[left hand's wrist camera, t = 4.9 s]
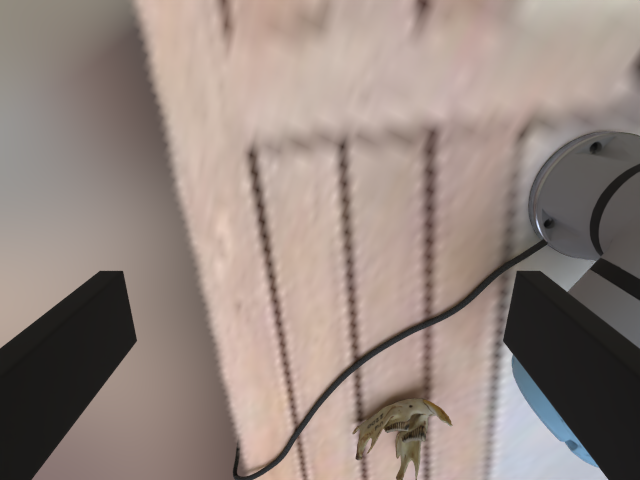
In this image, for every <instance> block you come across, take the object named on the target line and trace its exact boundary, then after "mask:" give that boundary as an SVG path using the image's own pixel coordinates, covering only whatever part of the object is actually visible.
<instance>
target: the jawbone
mask: <svg viewBox="0 0 640 480" xmlns="http://www.w3.org/2000/svg"><path fill="white" fill-rule="evenodd" d="M435 415H436V416H438V417H439V418H440V420H441V421H443V422H445V423H447V424H448V425H449V426H453V425H452V424H451V420H450V419H449V416H447V414H446V413H445V412H444V411H443V410H442V409H441V408H440V407H438V406H436V405H435V404H433V403H431V402H429V401H427V400H425V399H418V398H415V399H406V400H402V401H399V402H396V403H394V404H392V405H389V406H386V407H384V408H383V409H382V410H380V411H379V412H378V413H377V414H376V415H374V416H373V417H371V418H369V419H368V420H366V421H365V422H364V423H362V424H361V425H359V426H357V427H356V429H355V430H354V431H353V433H352V434H355V433H356V432H357V430H358V429H360V435H359V441H358V444H357V454H356V459H357V460H361V459H362V455H363V451H364V448H365V446H366V444H367V442H368V441H369V439H370V438H372V443H371V447H370V449H369V451H368V452H367V454H368V453H369V452H370V450H371V449H372V448H373V446H374V445H375V443H376V441H377V439H378V437H379V435H380V433H381V432H382V429H384V430H385V432H387V433H388V432H393V431H400V433H399V434H398V435H397V437H396V457H397V459H398V458H399V456H400V455H401V467H400V470H399V472H398V474H397V477H396V479H397V480H403V477H404V473H405V471H406V468H407V466H408V463H409V462H410V461H411V460H412V461H413V462H414V465H415V476H416V480H417V475H418V470H419V464H420V449H421V441H424V442H425V438H426V433H427V428H428V417H429V416H435Z"/></svg>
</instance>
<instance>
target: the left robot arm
mask: <svg viewBox="0 0 640 480" xmlns="http://www.w3.org/2000/svg"><path fill="white" fill-rule="evenodd" d="M529 216H530V221H531V224H532V226H533V228H534V231H535V232H536V234H537V235H538V236H539V238H540V239H541V240H542V241H540V242H539V243H537V244H536V245H534V246H533V247H531V248H530V249H528V250H526V251H525V252H523V253H522V254H520V255H519V256H517V257H515V258H514V259H512V260H510V261H509V262H507V263H506V264H504V265H503V266H501V267H500V268H498V269H497V270H496V271H495V272H493V273H492V274H491V275H490V276H489V277H488V278H487V279H485V280H484V281H483V282H482V283H481V284H480V285H479V286H478V287H477V288H476V289H475V290H474V291H473V292H472V293H471V294H470V295H469V296H468V297H467V298H466V299H464V300H463V301H462V302H461V303H459V304H458V305H456V306H455V307H453V308H452V309H450V310H449V311H447V312H445V313H443V314H441V315H439V316H437V317H435V318H433V319H431V320H428V321H426V322H424V323H421V324H419V325H417V326H415V327H412V328H410V329H408V330H406V331H405V332H403V333H401V334H399V335H397V336H396V337H394V338H392V339H390V340H389V341H387V342H385V343H384V344H382V345H380V346H379V347H377V348H376V349H374V350H373V351H371V352H370V353H368V354H367V355H365V356H364V357H363V358H361V359H360V360H359V361H357V362H356V363H355V364H354V365H353V366H351V367H350V368H349V369H348V370H347V371H346V372H344V373H343V374H342V375H341V376H340V377H339V378H338V379H337V380H336V381H335V382H334V383H333V384H332V385H331V386H330V388H329V389H328V390H327V391H326V392H325V393H324V394H323V395H322V397H321V398H320V399H319V400H318V401H317V403H316V404H315V405H314V406H313V408H312V409H311V411H310V412H309V413H308V415H307V416H306V418H305V419H304V420H303V422H302V423H301V425H300V426H299V427H298V429H297V430H296V432H295V433H294V434H293V436H292V437H291V439H290V441H289V442H288V444H287V446H286V448H285V449H284V451H283V452H282V453H281V454H280V456H279V457H278V458H277V459H276V460H274V461H273V462H272V463H270V464H269V465H268V466H266V467H265V468H263V469H262V470H260V471H258V472H256V473H254V474H252V475H250V476H246V477H241V476H238V474H237V469H238V463H239V457H240V448H241V441H240V439H239V435H238V441H237V447H236V456H235V462H234V467H233V477H234V479H235V480H253V479H255V478H257V477H259V476H261V475H263V474H264V473H266V472H267V471H269V470H270V469H272V468H273V467H274V466H276V465H277V464H278V463H279V462H280V461H281V460H282V459H283V458H284V457H285V456H286V455H287V453H288V452H289V450H290V448H291V447H292V445H293V443H294V442H295V440H296V439H297V437H298V436H299V434H300V433H301V432H302V430H303V429H304V428H305V426H306V425H307V423H308V422H309V421H310V419H311V418H312V416H313V415H314V413H315V412H316V411H317V410H318V408H319V407H320V406H321V404H322V403H323V402H324V401H325V400H326V399H327V398H328V396H329V395H330V394H331V393H332V392H333V391H334V390H335V389H336V388H337V387H338V386H339V385H340V384H341V383H342V382H343V381H344V380H345V379H346V378H347V377H348V376H349V375H350V374H351V373H352V372H354V371H355V370H356V369H357V368H359V367H360V366H361V365H362V364H364V363H365V362H366V361H368V360H369V359H370V358H372V357H373V356H375V355H376V354H378V353H379V352H381V351H383V350H384V349H386V348H388V347H389V346H391V345H393V344H394V343H396V342H398V341H400V340H402V339H403V338H405V337H407V336H409V335H411V334H413V333H415V332H417V331H419V330H421V329H424V328H426V327H428V326H431V325H433V324H435V323H438V322H440V321H442V320H444V319H446V318H448V317H450V316H451V315H453V314H455V313H456V312H458V311H459V310H461V309H462V308H463V307H465V306H466V305H467V304H469V303H470V302H471V301H472V300H473V299H474V298H475V297H476V296H478V295H479V294H480V293H481V292H482V291H483V290H484V289H485V288H486V287H487V286H488V285H489V284H490V283H491V282H492V281H493V280H494V279H495V278H497V277H498V276H499V275H500V274H502V273H503V272H504V271H506V270H507V269H509V268H510V267H512V266H514V265H515V264H517V263H519V262H520V261H522V260H524V259H525V258H527V257H528V256H530V255H532V254H533V253H535V252H536V251H538V250H539V249H541V248H542V247H544V246H545V245H549V246H550V247H552V248H553V249H555V250H556V251H558V252H560V253H562V254H564V255H567V256H570V257H574V258H581V259H588V260H595V261H596V263H595V264H594V265H593V266H592V267H591V268H590V269H589V270H588V271H587V272H586V273H585V274H584V275H583V276H582V277H581V278H580V279H579V281H578V282H577V283H576V284H575V285H574V286H573V287H572V288H571V289H570V290H569V291H568V292H566V291H565V290H564V289H563V288H561V287H560V286H559V285H557V284H556V283H555V282H554V281H552V280H551V279H550V278H548V277H547V276H546V275H545V274H543V273H542V272H541V271H517V274H516V279H515V284H514V289H513V294H512V299H511V304H510V309H509V314H508V319H507V324H506V329H505V334H504V339H503V341H504V343H505V344H506V345H507V347H508V348H509V349H510V351H511V352H512V353H513V356H512V368H513V375H514V378H515V380H516V383H517V385H518V387H519V389H520V391H521V393H522V394H523V396H524V398H525V399H526V401H527V402H528V404H529V405H530V407H531V408H532V409H533V411H534V412H535V413H536V415H537V416H538V417H539V418H540V420H541V421H542V422H543V423H544V424H545V426H546V427H547V428H548V429H549V430H550V431H551V432H552V433H553V434H554V436H555V437H556V438H558V439H559V440H560V441H562V442H565V443H566V445H567V446H568V447H569V449H570V450H571V451H572V452H573V453H574V454H575V455H577V456H578V457H579V458H581V459H582V460H583V461H585V462H587V463H589V464H591V465H593V466H595V467H599V468H600V469H601V470H602V472H603V473H604V474H605V476H606V477H607V478H608V480H640V136H638V135H635V134H631V133H622V132H613V131H605V132H597V133H592V134H588V135H585V136H582V137H580V138H578V139H576V140H573V141H572V142H570V143H568V144H567V145H565V146H564V147H562V148H561V149H560V150H558V151H557V152H556V153H555V154H554V155H553V156H552V157H551V158H550V159H549V160H548V161H547V162H546V164H545V165H544V166H543V168H542V169H541V170H540V172H539V174H538V175H537V177H536V179H535V181H534V184H533V186H532V190H531V193H530V198H529ZM598 274H599V275H598ZM136 341H137V339H136V334H135V329H134V324H133V319H132V314H131V309H130V304H129V299H128V294H127V289H126V284H125V279H124V274H123V271H99V272H98V273H97V274H95V275H94V276H93V277H92V278H90V279H89V280H88V281H86V282H85V283H84V284H83V285H81V286H80V287H79V288H77V289H76V290H75V291H74V292H72V293H71V294H70V295H68V296H67V297H66V298H65V299H63V300H62V301H61V302H59V303H58V304H57V305H56V306H54V307H53V308H52V309H50V310H49V311H48V312H47V313H45V314H44V315H43V316H41V317H40V318H39V319H38V320H36V321H35V322H34V323H32V324H31V325H30V326H29V327H27V328H26V329H25V330H23V331H22V332H21V333H20V334H18V335H17V336H16V337H14V338H13V339H12V340H11V341H9V342H8V343H7V344H5V345H4V346H3V347H2V348H0V480H32V478H33V477H34V476H35V474H36V473H37V472H38V470H39V469H40V468H41V467H42V465H43V464H44V463H45V461H46V460H47V459H48V457H49V456H50V455H51V453H52V452H53V451H54V449H55V448H56V447H57V445H58V444H59V443H60V441H61V440H62V439H63V438H64V436H65V435H66V434H67V432H68V431H69V430H70V428H71V427H72V426H73V424H74V423H75V422H76V420H77V419H78V418H79V416H80V415H81V414H82V413H83V411H84V410H85V409H86V407H87V406H88V405H89V403H90V402H91V401H92V399H93V398H94V397H95V395H96V394H97V393H98V391H99V390H100V389H101V388H102V386H103V385H104V384H105V382H106V381H107V380H108V378H109V377H110V376H111V374H112V373H113V372H114V370H115V369H116V368H117V366H118V365H119V364H120V362H121V361H122V360H123V358H124V357H125V356H126V355H127V353H128V352H129V351H130V349H131V348H132V347H133V345H134V344H135V343H136Z"/></svg>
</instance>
